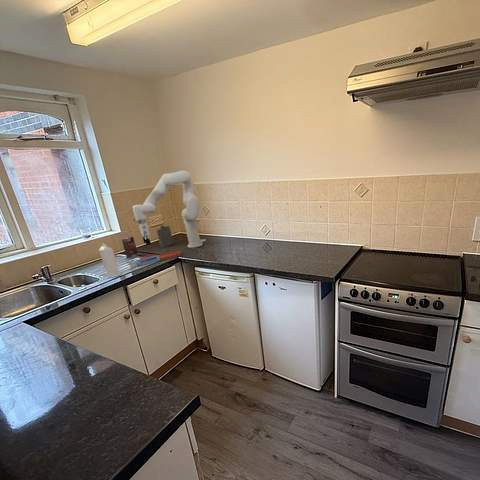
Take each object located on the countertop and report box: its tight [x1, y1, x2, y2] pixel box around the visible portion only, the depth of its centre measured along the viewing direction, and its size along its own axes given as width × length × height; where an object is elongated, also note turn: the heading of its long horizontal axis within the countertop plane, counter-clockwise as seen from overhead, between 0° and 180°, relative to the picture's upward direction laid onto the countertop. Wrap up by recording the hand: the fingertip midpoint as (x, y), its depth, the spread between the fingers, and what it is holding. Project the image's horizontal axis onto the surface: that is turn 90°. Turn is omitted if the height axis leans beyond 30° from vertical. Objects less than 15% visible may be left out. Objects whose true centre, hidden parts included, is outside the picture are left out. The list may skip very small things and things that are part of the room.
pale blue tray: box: [135, 254, 161, 267], centre depth 222 cm, size 15×11×2 cm
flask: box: [156, 224, 174, 249], centre depth 260 cm, size 4×14×18 cm, turn 156°
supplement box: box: [121, 236, 139, 260], centre depth 236 cm, size 9×5×16 cm, turn 168°
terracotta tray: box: [157, 250, 182, 262], centre depth 229 cm, size 15×11×2 cm
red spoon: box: [139, 253, 156, 259], centre depth 233 cm, size 12×4×2 cm, turn 122°
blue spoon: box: [140, 257, 157, 263], centre depth 222 cm, size 12×4×2 cm, turn 122°
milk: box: [98, 243, 121, 279], centre depth 196 cm, size 6×6×22 cm
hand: (147, 243), depth 230 cm, fingers open, 9 cm apart
